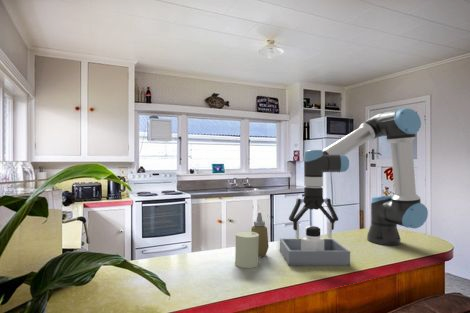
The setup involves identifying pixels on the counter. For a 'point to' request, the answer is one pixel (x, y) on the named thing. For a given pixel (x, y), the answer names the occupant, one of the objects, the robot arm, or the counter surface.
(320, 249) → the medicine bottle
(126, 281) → the counter surface
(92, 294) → the counter surface
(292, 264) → the grey box
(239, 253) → the can
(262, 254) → the squeeze bottle
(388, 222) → the robot arm
